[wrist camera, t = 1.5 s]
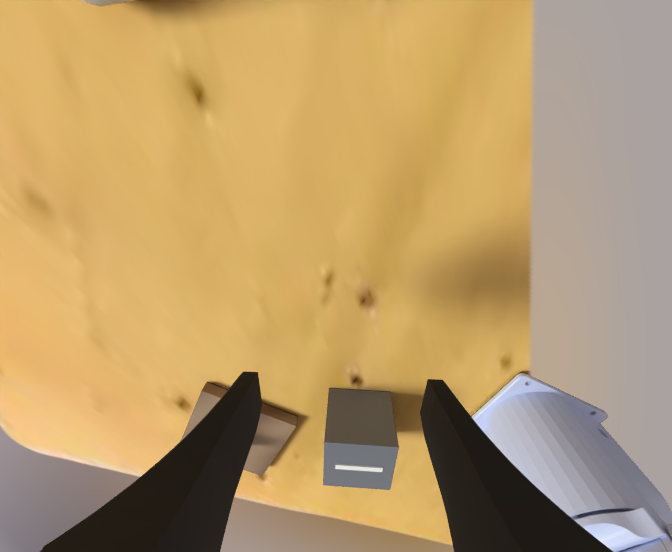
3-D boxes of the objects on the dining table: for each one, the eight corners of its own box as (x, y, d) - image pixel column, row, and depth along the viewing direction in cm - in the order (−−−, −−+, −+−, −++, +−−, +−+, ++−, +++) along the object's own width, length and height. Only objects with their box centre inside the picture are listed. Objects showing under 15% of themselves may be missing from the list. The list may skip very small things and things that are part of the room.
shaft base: (298, 416, 27) (289, 461, 23) (264, 466, 31) (252, 512, 27) (206, 381, 26) (182, 424, 22) (183, 438, 29) (158, 482, 26)
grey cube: (390, 392, 25) (399, 448, 21) (383, 432, 28) (390, 491, 23) (329, 388, 25) (324, 443, 21) (327, 428, 28) (323, 486, 23)
